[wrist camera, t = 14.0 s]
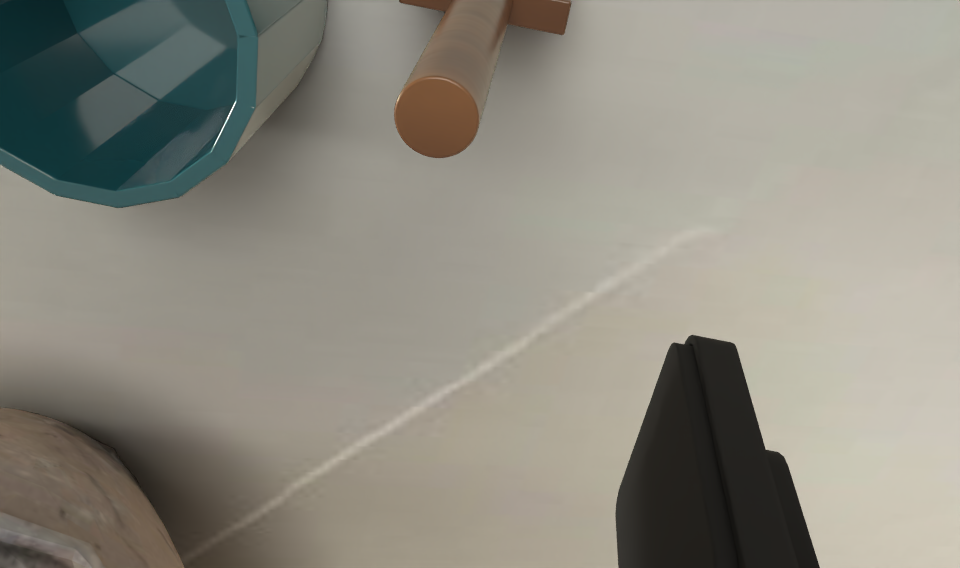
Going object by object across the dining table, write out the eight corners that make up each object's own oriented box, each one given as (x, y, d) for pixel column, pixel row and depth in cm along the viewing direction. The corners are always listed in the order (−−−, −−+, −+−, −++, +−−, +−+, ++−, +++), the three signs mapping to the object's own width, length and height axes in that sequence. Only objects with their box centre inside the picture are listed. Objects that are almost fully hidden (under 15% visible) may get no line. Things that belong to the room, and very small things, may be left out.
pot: (28, -215, 34) (-148, -211, 25) (340, -152, 34) (264, -129, 25) (55, 89, 40) (-78, 169, 32) (317, 141, 40) (251, 234, 32)
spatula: (429, -71, 35) (312, 51, 19) (574, -42, 35) (572, 103, 19) (422, -20, 36) (306, 133, 20) (563, 8, 36) (553, 182, 20)
